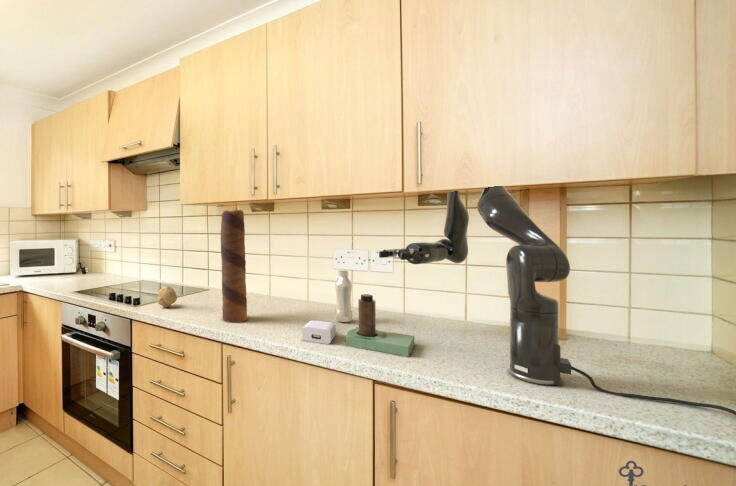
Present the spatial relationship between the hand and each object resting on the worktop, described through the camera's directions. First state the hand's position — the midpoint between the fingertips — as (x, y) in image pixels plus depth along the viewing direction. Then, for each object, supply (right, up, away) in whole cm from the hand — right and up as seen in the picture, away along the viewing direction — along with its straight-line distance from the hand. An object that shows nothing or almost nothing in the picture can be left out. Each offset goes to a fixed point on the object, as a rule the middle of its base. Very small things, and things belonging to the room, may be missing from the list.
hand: (390, 255), depth 122 cm
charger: (-22, -28, +4) cm, 36 cm away
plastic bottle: (-9, -28, +21) cm, 36 cm away
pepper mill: (-9, -28, -4) cm, 30 cm away
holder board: (-6, -28, -7) cm, 30 cm away
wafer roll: (-52, -28, +26) cm, 65 cm away
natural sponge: (-83, -28, +49) cm, 101 cm away
